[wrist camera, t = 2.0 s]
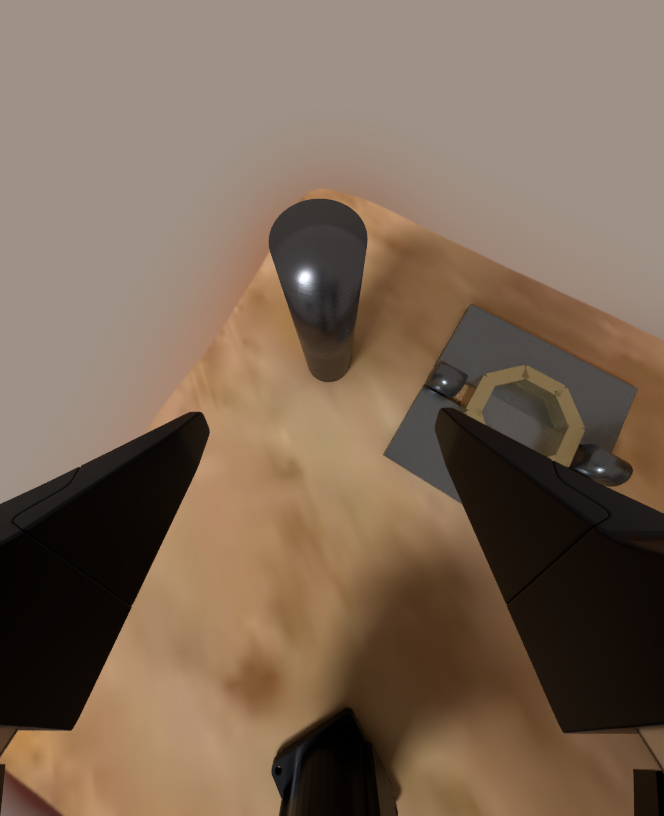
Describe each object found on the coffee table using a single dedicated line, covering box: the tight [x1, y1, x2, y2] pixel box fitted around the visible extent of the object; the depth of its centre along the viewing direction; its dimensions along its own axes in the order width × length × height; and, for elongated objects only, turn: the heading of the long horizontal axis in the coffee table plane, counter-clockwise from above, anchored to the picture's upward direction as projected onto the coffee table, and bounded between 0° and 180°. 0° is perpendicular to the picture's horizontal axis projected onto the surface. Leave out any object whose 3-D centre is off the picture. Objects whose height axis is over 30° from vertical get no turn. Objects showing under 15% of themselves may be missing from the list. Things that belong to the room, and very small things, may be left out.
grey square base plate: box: [383, 304, 637, 504], centre depth 20 cm, size 17×16×2 cm
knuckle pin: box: [269, 199, 367, 382], centre depth 16 cm, size 4×4×13 cm
